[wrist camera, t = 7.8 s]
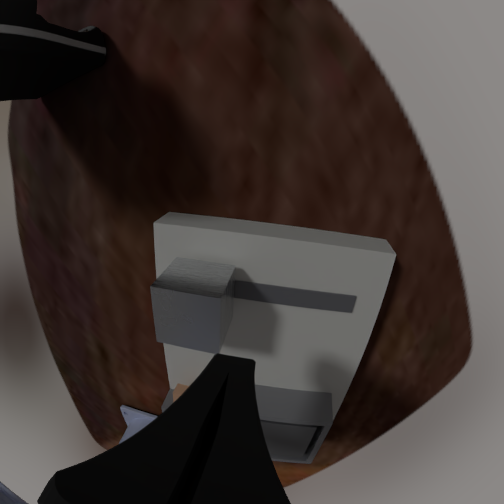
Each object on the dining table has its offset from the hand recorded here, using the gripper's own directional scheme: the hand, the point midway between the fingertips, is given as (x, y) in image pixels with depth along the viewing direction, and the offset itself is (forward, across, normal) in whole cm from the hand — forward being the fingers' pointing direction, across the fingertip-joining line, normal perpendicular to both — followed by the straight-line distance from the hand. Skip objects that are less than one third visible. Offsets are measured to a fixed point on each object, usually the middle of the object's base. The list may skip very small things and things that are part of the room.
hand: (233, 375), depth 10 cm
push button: (+5, -2, +10) cm, 12 cm away
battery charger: (+8, +13, -13) cm, 20 cm away
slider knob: (+5, +3, 0) cm, 6 cm away
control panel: (+8, 0, +6) cm, 10 cm away
